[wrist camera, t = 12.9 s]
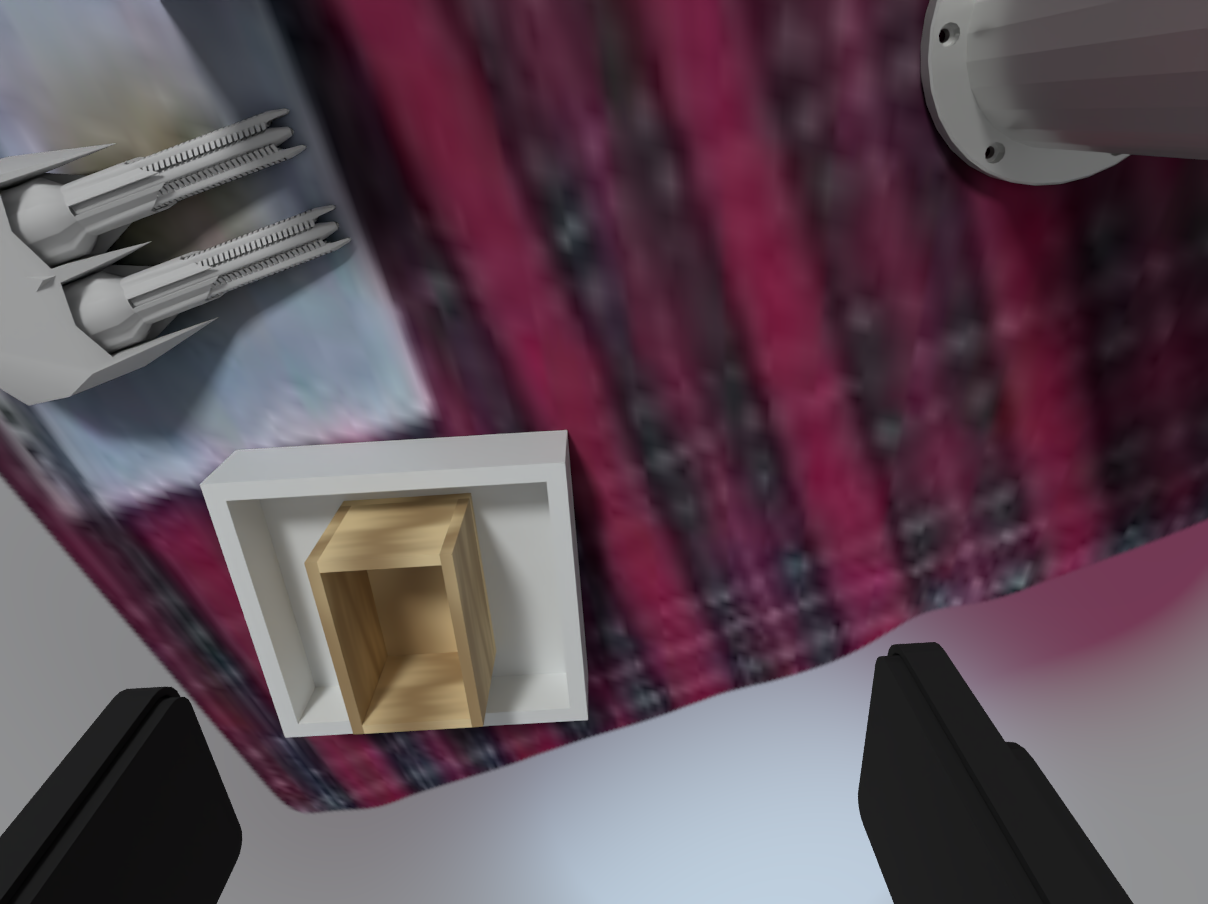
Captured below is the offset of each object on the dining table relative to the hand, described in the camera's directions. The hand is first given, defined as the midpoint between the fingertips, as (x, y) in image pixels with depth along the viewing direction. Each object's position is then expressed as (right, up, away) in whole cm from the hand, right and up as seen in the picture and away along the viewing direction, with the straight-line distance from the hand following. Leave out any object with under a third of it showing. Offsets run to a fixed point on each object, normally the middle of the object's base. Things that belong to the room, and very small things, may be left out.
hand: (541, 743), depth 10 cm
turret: (-21, +14, +25) cm, 36 cm away
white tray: (-10, -3, +32) cm, 34 cm away
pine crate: (-10, -3, +32) cm, 33 cm away
